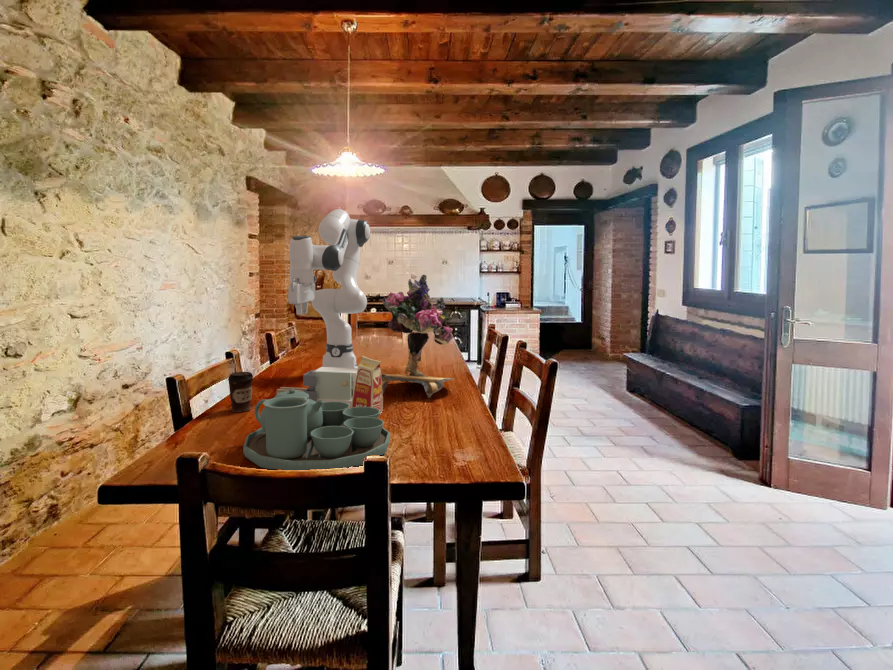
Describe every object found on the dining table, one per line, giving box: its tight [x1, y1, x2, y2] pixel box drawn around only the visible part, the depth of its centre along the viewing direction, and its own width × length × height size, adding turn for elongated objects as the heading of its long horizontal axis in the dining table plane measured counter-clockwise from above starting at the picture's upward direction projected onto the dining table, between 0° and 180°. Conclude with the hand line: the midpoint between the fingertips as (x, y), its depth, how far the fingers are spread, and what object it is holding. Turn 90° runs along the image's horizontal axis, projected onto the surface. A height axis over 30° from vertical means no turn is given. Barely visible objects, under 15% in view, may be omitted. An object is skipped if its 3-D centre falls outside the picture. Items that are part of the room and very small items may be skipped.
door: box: [308, 369, 351, 400], centre depth 203 cm, size 3×15×10 cm, turn 85°
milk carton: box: [350, 355, 384, 415], centre depth 192 cm, size 9×9×20 cm
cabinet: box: [302, 366, 358, 407], centre depth 209 cm, size 16×18×11 cm
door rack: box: [276, 386, 307, 395], centre depth 214 cm, size 5×10×3 cm, turn 85°
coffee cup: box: [227, 371, 254, 413], centre depth 193 cm, size 9×8×13 cm
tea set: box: [242, 389, 391, 470], centre depth 157 cm, size 40×40×16 cm
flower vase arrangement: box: [381, 274, 454, 399], centre depth 227 cm, size 33×44×45 cm
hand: (302, 314), depth 216 cm, fingers open, 4 cm apart
